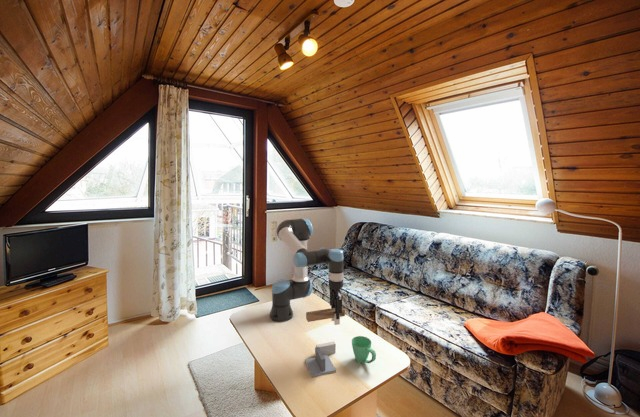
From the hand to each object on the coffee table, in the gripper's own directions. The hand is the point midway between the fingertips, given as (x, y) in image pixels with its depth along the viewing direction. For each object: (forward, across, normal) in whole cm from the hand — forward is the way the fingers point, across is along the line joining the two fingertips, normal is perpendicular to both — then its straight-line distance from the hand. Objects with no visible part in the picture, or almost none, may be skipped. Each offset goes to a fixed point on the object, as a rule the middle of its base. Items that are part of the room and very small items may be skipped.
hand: (335, 322), depth 151 cm
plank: (-4, 0, -6) cm, 7 cm away
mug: (+16, +13, +10) cm, 24 cm away
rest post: (+16, 0, -6) cm, 17 cm away
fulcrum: (+16, +9, -12) cm, 22 cm away
